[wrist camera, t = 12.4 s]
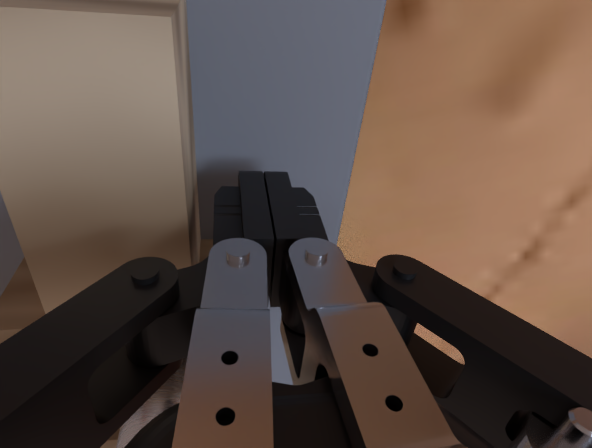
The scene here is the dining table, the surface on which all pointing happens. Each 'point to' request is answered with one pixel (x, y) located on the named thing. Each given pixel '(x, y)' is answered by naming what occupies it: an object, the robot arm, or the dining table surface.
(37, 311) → the link
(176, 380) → the pin
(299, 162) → the base board
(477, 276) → the dining table surface
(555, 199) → the dining table surface
